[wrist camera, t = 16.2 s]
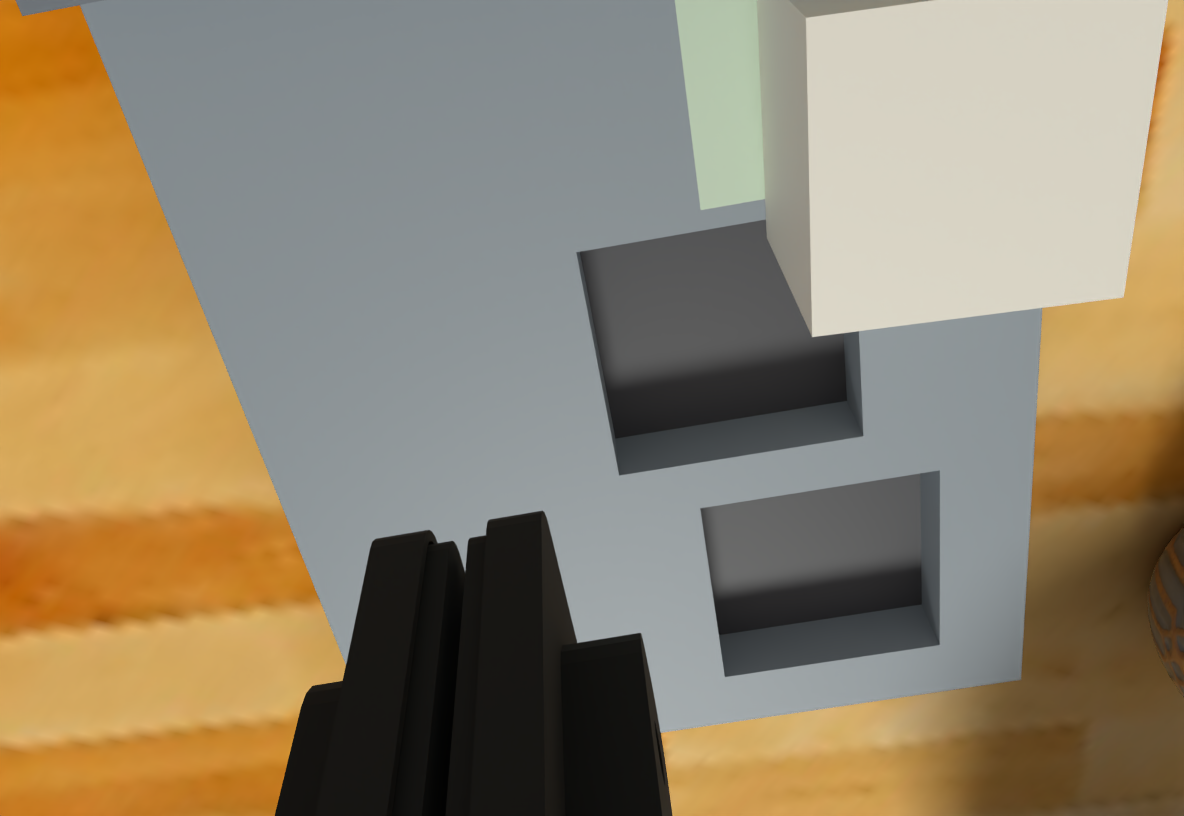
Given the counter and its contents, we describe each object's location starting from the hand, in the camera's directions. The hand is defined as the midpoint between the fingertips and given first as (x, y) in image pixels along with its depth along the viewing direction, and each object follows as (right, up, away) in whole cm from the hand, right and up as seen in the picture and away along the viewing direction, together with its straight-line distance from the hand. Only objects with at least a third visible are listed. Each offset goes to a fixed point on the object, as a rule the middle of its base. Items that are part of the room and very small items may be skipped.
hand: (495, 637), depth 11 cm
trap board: (+2, +3, +18) cm, 19 cm away
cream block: (+8, +9, +13) cm, 17 cm away
